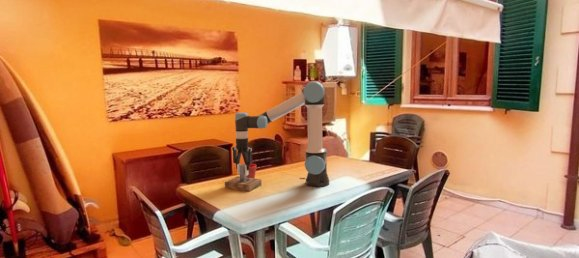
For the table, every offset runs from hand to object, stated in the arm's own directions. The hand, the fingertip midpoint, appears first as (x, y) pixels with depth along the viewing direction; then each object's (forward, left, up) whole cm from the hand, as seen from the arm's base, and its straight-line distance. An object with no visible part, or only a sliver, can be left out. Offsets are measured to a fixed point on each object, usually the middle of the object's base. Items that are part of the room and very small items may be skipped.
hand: (242, 174), depth 215 cm
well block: (0, 0, -8) cm, 8 cm away
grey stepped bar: (0, 0, -8) cm, 8 cm away
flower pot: (+6, -16, -8) cm, 19 cm away
